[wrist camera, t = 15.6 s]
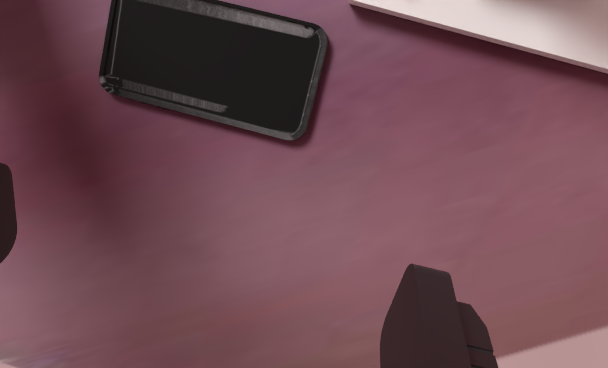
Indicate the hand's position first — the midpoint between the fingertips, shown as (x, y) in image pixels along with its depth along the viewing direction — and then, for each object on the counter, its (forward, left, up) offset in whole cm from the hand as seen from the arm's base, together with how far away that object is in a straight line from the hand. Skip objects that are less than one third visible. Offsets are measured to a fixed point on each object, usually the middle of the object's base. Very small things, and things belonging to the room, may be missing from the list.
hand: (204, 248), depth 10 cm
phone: (-9, +3, -25) cm, 27 cm away
